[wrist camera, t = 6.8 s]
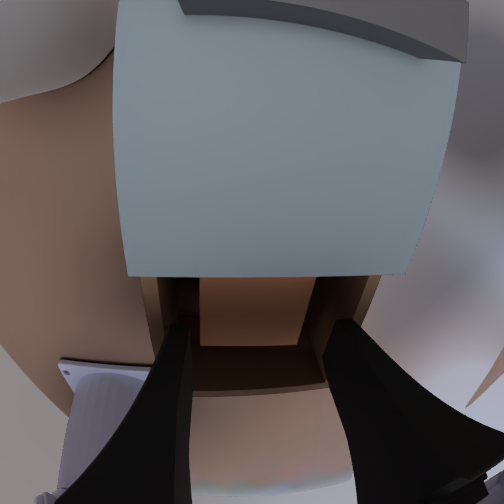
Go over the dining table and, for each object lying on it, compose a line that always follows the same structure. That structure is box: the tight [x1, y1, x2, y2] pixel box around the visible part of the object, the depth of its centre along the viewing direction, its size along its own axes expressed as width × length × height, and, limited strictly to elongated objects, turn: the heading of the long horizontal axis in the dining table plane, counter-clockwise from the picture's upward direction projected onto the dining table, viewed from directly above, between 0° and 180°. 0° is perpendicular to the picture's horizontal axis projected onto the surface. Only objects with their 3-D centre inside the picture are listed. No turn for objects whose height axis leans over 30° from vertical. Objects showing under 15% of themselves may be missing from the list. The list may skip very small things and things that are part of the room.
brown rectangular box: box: [140, 275, 382, 397], centre depth 11 cm, size 14×8×5 cm, turn 175°
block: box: [200, 277, 316, 346], centre depth 13 cm, size 4×4×4 cm
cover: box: [113, 0, 469, 277], centre depth 5 cm, size 7×8×2 cm
